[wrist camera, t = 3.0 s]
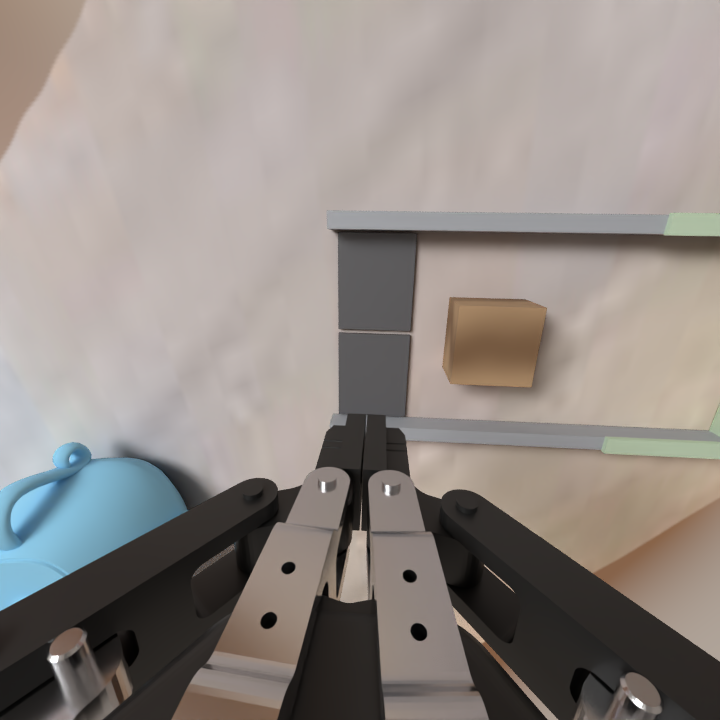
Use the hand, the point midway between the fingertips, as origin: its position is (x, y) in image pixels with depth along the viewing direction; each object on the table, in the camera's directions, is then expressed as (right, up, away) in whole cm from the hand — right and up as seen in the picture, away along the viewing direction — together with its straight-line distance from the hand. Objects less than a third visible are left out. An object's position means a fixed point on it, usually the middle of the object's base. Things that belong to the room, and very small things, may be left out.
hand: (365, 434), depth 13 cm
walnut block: (+10, +5, +15) cm, 19 cm away
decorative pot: (-24, -13, +24) cm, 36 cm away
